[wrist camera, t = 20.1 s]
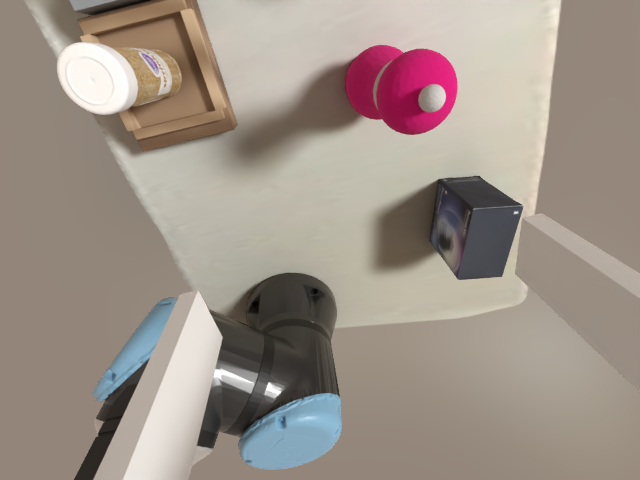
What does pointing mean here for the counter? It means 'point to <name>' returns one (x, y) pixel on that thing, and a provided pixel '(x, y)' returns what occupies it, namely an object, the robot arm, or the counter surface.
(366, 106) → the pepper mill
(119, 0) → the backstop wall
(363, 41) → the counter surface
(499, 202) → the small box
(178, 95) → the socket block
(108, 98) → the sprinkles bottle
